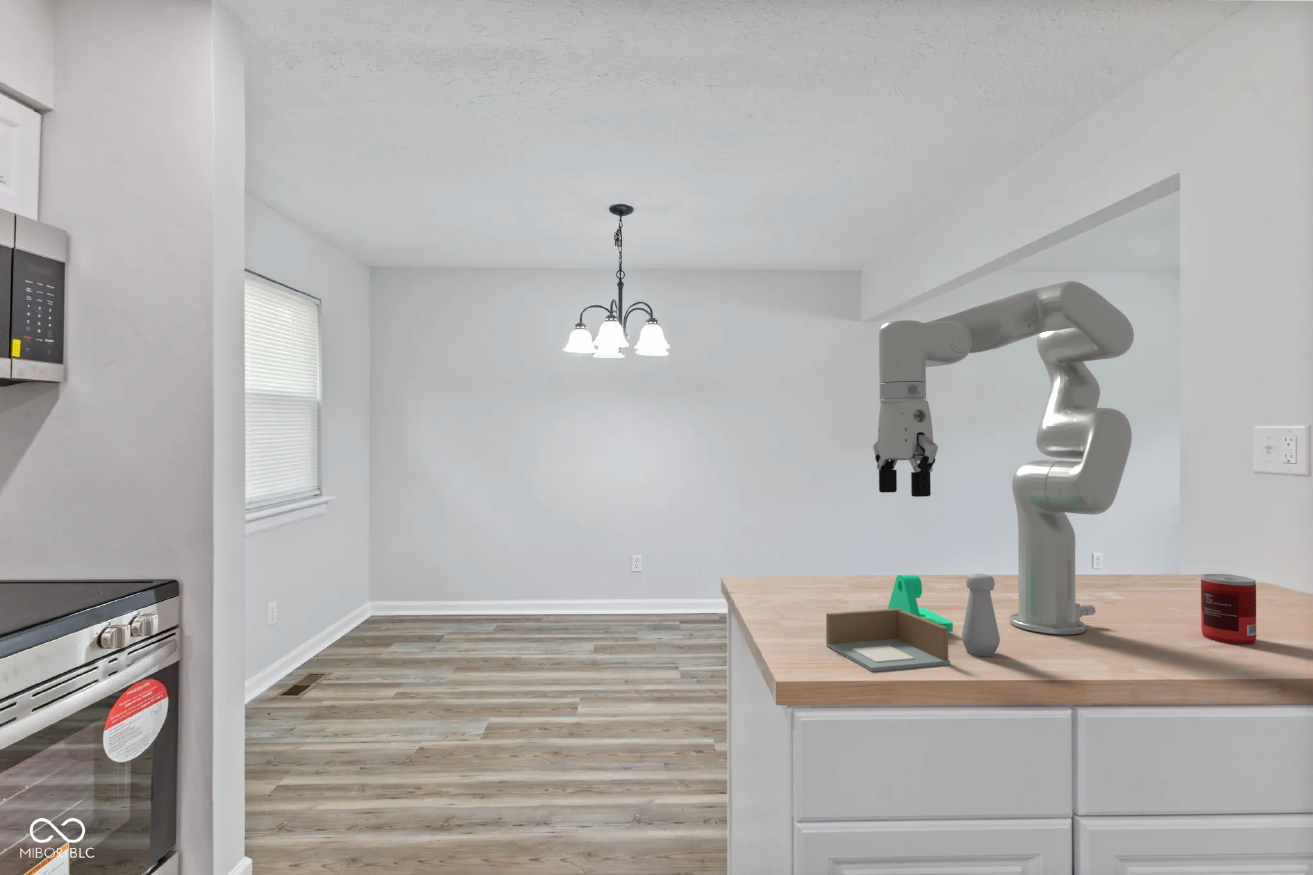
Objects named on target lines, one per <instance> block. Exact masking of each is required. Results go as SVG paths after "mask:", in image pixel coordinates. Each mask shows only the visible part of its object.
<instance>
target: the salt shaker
mask: <svg viewBox="0 0 1313 875" xmlns="http://www.w3.org/2000/svg"><path fill="white" fill-rule="evenodd" d="M965 584H966V588H968V589H969V593H968V599H967V602H966V604H967V605H966V609H965V610H966V611H965V615H964V620H963V626H962V632H961V640H962V643H963V646H964V648H965V651H966V653H969V654H970V655H972V656H977V657H994V656H995V654H996V652H997V649H998V648H999V645H1000V641H1001V638H1000V633H999V629H998V624H997V623H998V622H997V620H996V615H995V614H996V613H995V611H994V605H993V601H992V600H993V599H992V594H991V591H994V589H995V585H996V584H995V579H994V577H992V576H991V575H989V574H984V573H971V574H968V575H967V577H966V580H965Z"/></svg>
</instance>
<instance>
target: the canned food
mask: <svg viewBox="0 0 1313 875" xmlns="http://www.w3.org/2000/svg"><path fill="white" fill-rule="evenodd" d="M1200 576H1201V578H1200V613H1201V614H1200V616H1201V617H1200V620H1201V621H1200V622H1201V623H1200V625H1201V626H1200V627H1201V628H1200V629H1201V633H1202V636H1203V637H1204V638H1205V637H1206V639H1207V638H1209V639H1208V640H1210V639H1211V640H1210V641H1213V640H1215V641H1214V642H1217V641H1218V643H1222V642H1224V643H1223V644H1228V643H1229V644H1230V645H1238V644H1249V645H1253V644H1255V642H1256V639H1257V582H1256V581H1257V580H1255V579H1254V578H1251V577H1248V576H1243V575H1236V574H1235V575H1233V574H1226V573H1205V574H1204V573H1203V574H1201V575H1200Z"/></svg>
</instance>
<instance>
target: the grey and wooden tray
mask: <svg viewBox="0 0 1313 875" xmlns="http://www.w3.org/2000/svg"><path fill="white" fill-rule="evenodd" d="M825 614H826V618H825V619H826V620H825V621H826V626H825V627H826V631H825V632H826V634H825V635H826V643H825V644H826V645H827V646H828V648H829V647H831V648H832V649H831V648H830V649H831V650H833V649H834V650H835V651H834V650H833V651H834V652H836V651H838V652H839V653H838V652H837V653H838V654H840V653H841V654H840V655H842V654H843V655H844V656H843V655H842V656H843V657H845V656H847V657H848V658H847V657H846V658H847V659H849V658H850V659H851V661H852V660H853V661H852V662H854V661H855V662H854V663H856V664H857V663H858V665H859V666H861V667H863V668H865V669H866V670H868V671H870V672H881V671H882V672H883V671H893V670H902V669H903V670H905V669H915V668H924V667H925V668H926V667H938V666H946V665H951V660H950V659H949V632H948V628H947V627H944V626H942V625H939V624H936V623H934V622H931V621H929V620H926V619H924V618H921V617H918V616H916V615H913V614H911V613H908V612H905V611H901V610H900V609H888V608H887V609H885V608H883V609H872V610H871V609H870V610H857V611H842V612H841V611H840V612H826V613H825ZM827 646H826V647H827ZM850 659H849V660H850Z"/></svg>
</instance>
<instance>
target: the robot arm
mask: <svg viewBox="0 0 1313 875" xmlns="http://www.w3.org/2000/svg"><path fill="white" fill-rule="evenodd" d="M1134 335H1135V333H1134V328H1133V325H1132V323H1131V321H1130V320H1129V318H1128V317H1127V316H1126V314H1124V313H1123V311H1121V310H1119V308H1117V307H1116V306H1115V305H1113V304H1112V303H1111V302H1109V301H1108V300H1107V299H1106V298H1105V297H1103V295H1101V294H1100V293H1098V291H1095V290H1094V289H1093V288H1091V287H1089V286H1088V285H1086V284H1083V283H1081V282H1079V281H1075V280H1074V281H1071V280H1070V281H1064V282H1059V283H1055V284H1051V285H1050V284H1049V285H1047V286H1041V287H1037V288H1033V289H1029V290H1025V291H1022V292H1018V293H1015V294H1012V295H1009V296H1006V297H1002V298H999V299H997V300H994V301H991V302H989V301H988V302H987V303H983V304H980V305H976V306H973V307H971V308H967V309H964V310H962V311H958V312H956V313H954V314H950V315H947V316H944V317H939V318H937V319H934V320H931V321H927V322H921V321H918V320H912V319H910V320H909V319H902V320H894V321H888V322H886V323H883V325H881V327H880V328H879V332H878V357H879V358H878V359H879V360H878V361H879V362H878V365H879V366H878V367H879V368H878V369H879V370H878V371H879V375H878V377H879V404H880V408H879V414H878V415H879V416H878V429H877V441H875V443H874V444H873V446H872V448H873V451H874V456H875V457H874V458H875V461H876V463H877V464H876V469H877V470H878V491H879V492H880V493H885V494H886V493H896V492H897V491H898V490H897V489H898V488H897V487H898V485H897V484H898V482H897V479H898V478H897V477H898V476H897V475H898V474H897V472H898V470H897V469H895V467H896V465H897V463H898V461H909V463H910V465H911V467H912V471H911V472H910V473H911V474H910V479H911V482H910V484H911V487H910V488H911V489H910V490H911V491H910V493H911V496H912V497H913V498H914V497H915V498H916V497H917V498H918V497H919V498H923V497H931V494H932V493H931V492H932V491H931V488H932V487H931V473H932V472H933V470H934V469H933V466H934V464H935V463H936V456H937V453H938V449H939V447H938V445H937V443H935V442H934V433H933V432H934V430H933V422H932V413H931V410H930V405H929V401H928V400H927V370H926V369H927V368H932V367H941V366H942V367H943V366H948V365H953V364H956V363H959V362H960V361H962V360H964V359H965V358H966V357H967V356H969V354H974V353H982V352H988V351H992V350H995V349H999V348H1003V347H1005V346H1006V347H1007V346H1008V345H1010V344H1011V345H1012V344H1013V343H1016V342H1019V341H1021V340H1025V339H1027V338H1031V337H1034V336H1037V337H1036V348H1037V351H1038V355H1039V356H1040V358H1041V360H1042V362H1043V364H1044V368H1045V369H1046V371H1047V373H1048V377H1049V381H1050V389H1049V393H1048V397H1047V401H1046V404H1045V407H1044V410H1043V414H1042V416H1041V419H1040V422H1039V425H1038V428H1037V433H1036V438H1035V439H1036V440H1035V442H1036V443H1035V444H1036V447H1037V449H1038V450H1039V451H1040V453H1042V454H1043V455H1045V456H1047V457H1049V458H1055V459H1056V458H1057V459H1068V461H1067V460H1049V459H1048V460H1047V459H1046V460H1045V459H1043V460H1034V461H1029V462H1026V463H1024V464H1022V465H1020V466H1019V467H1018V468H1017V469H1016V470H1015V472H1014V474H1013V476H1012V481H1011V486H1012V487H1011V489H1012V494H1013V499H1014V503H1015V508H1016V514H1017V523H1018V524H1017V525H1018V526H1017V528H1018V536H1017V537H1018V538H1017V539H1018V542H1017V544H1018V550H1017V552H1018V553H1017V554H1018V556H1017V558H1018V559H1017V560H1018V564H1017V565H1018V569H1017V570H1018V575H1017V576H1018V577H1017V578H1018V579H1017V580H1018V613H1013V614H1011V615H1010V616H1009V623H1010V624H1011V625H1013V626H1014V627H1017V628H1019V629H1023V630H1026V631H1029V632H1030V631H1031V632H1035V633H1041V634H1048V635H1049V634H1052V635H1077V634H1082V633H1084V632H1086V624H1085V623H1084V622H1083V621H1081V618H1082V617H1083V616H1085V617H1086V616H1087V617H1089V616H1093V615H1095V614H1096V608H1095V606H1094V605H1093V604H1085V605H1084V604H1083V605H1080V603H1078V602H1076V533H1075V530H1074V527H1073V524H1072V522H1071V520H1069V517H1068V516H1067V514H1079V515H1091V516H1092V515H1100V514H1103V513H1105V512H1106V511H1108V510H1109V509H1110V508H1111V507H1112V505H1113V504H1114V501H1115V499H1116V497H1117V495H1118V491H1119V488H1120V485H1121V481H1122V478H1123V474H1124V471H1125V468H1126V464H1127V461H1128V457H1129V454H1130V451H1131V448H1132V446H1131V445H1132V441H1133V440H1132V438H1133V435H1132V432H1133V431H1132V428H1131V423H1130V421H1129V420H1128V418H1127V416H1126V415H1125V414H1124V413H1123V412H1121V411H1120V410H1118V409H1115V408H1111V407H1098V404H1099V400H1100V397H1101V387H1100V384H1099V382H1098V380H1097V379H1096V377H1095V375H1093V373H1092V372H1091V371H1090V369H1089V368H1088V366H1087V365H1086V363H1085V362H1091V361H1100V360H1107V359H1109V360H1110V359H1114V358H1117V357H1120V356H1123V355H1124V354H1126V353H1127V352H1128V351H1129V350H1130V349H1131V348H1132V346H1133V343H1134V339H1135V336H1134ZM1069 459H1071V460H1072V459H1074V460H1075V461H1069ZM1076 459H1077V460H1081V461H1076ZM1066 513H1067V514H1066Z"/></svg>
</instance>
